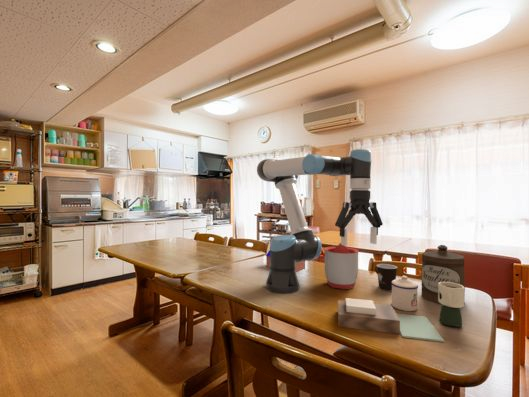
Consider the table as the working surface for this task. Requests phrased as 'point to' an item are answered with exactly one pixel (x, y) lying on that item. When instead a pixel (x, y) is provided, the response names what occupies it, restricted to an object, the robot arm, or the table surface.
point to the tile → (360, 306)
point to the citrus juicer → (341, 266)
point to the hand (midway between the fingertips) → (358, 244)
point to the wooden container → (440, 271)
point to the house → (298, 265)
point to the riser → (370, 319)
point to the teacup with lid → (404, 294)
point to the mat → (418, 328)
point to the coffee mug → (386, 275)
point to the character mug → (451, 303)
